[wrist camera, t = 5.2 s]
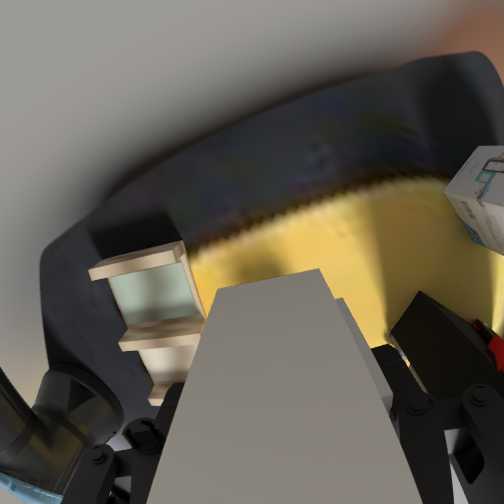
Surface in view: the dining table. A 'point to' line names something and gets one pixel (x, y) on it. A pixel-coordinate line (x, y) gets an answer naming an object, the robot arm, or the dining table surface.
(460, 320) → the electrical component
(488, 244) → the ink box
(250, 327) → the white tall block
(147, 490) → the robot arm
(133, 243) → the dining table surface
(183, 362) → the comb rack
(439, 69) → the dining table surface
